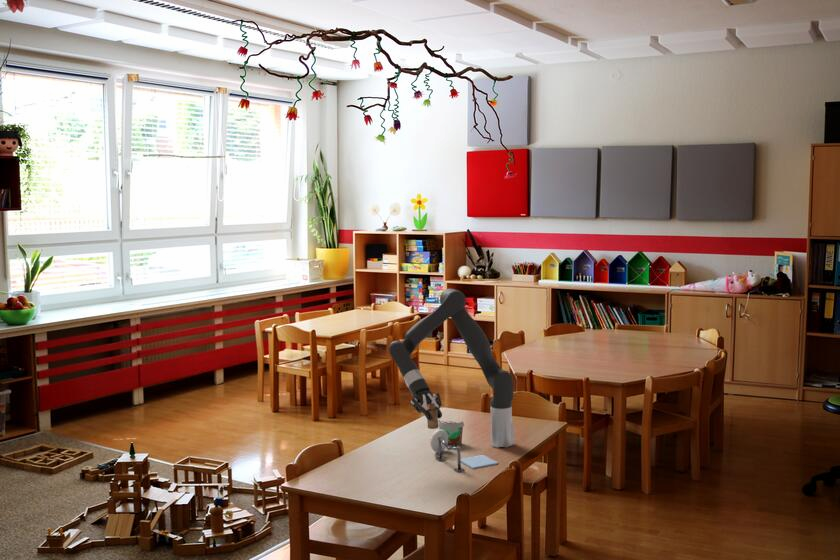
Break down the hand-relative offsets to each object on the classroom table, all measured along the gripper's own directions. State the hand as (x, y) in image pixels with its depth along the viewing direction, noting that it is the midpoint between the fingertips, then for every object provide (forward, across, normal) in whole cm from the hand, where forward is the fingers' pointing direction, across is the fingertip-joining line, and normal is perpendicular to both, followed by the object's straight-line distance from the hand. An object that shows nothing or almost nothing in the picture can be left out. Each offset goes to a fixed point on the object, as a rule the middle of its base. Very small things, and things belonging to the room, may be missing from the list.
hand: (435, 418), depth 311 cm
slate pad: (+17, +19, +14) cm, 29 cm away
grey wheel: (+2, +16, +29) cm, 33 cm away
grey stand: (+13, +8, +17) cm, 23 cm away
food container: (-2, +26, +33) cm, 42 cm away
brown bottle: (+2, 0, +4) cm, 5 cm away
